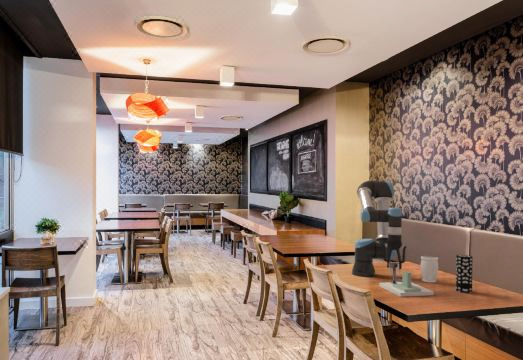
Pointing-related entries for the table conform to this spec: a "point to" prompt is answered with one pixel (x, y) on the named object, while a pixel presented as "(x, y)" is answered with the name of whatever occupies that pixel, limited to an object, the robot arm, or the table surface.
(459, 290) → the white-spotted black cylinder
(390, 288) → the lock base
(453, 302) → the table surface
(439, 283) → the table surface
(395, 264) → the grey angled block piece
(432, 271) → the jar
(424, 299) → the table surface
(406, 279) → the cover
